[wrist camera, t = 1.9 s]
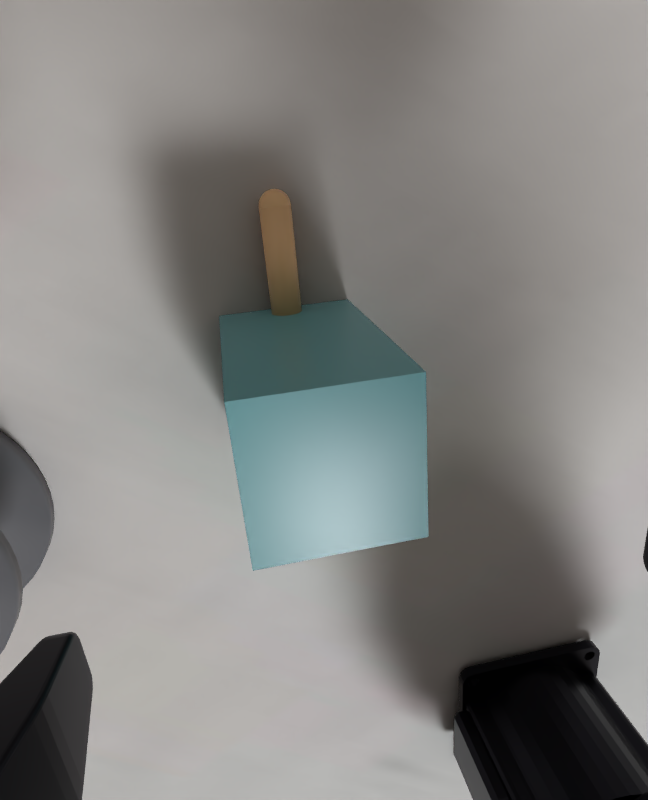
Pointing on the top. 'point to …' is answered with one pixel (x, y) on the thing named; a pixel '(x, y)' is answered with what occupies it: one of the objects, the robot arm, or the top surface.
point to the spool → (20, 529)
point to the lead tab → (320, 419)
